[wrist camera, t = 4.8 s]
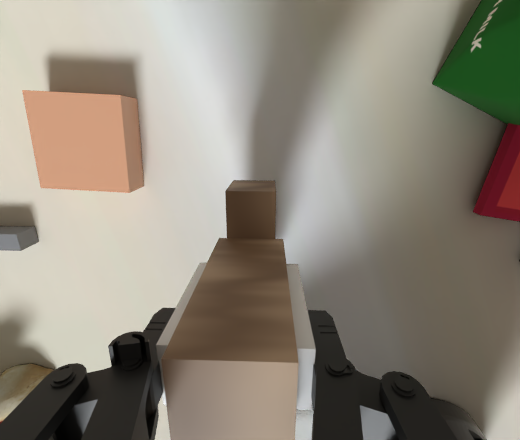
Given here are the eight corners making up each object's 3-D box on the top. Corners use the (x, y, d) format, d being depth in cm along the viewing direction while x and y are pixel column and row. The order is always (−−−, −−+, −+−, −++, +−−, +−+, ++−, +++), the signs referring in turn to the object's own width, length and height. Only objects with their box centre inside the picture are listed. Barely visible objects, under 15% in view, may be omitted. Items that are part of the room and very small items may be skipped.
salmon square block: (139, 99, 23) (120, 95, 20) (145, 185, 25) (129, 192, 22) (53, 95, 23) (22, 90, 20) (66, 181, 25) (40, 187, 22)
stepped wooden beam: (281, 180, 21) (303, 268, 7) (278, 301, 24) (290, 520, 10) (226, 180, 21) (149, 265, 7) (230, 300, 24) (179, 515, 10)
